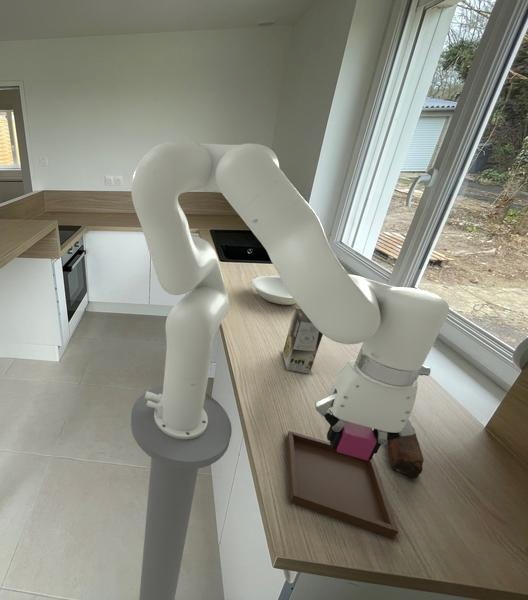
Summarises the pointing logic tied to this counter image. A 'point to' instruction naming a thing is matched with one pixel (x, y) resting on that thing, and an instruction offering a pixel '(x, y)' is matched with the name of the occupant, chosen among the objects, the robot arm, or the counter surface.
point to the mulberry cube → (357, 441)
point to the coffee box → (301, 343)
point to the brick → (406, 455)
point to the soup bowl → (272, 289)
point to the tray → (338, 485)
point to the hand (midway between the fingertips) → (349, 447)
